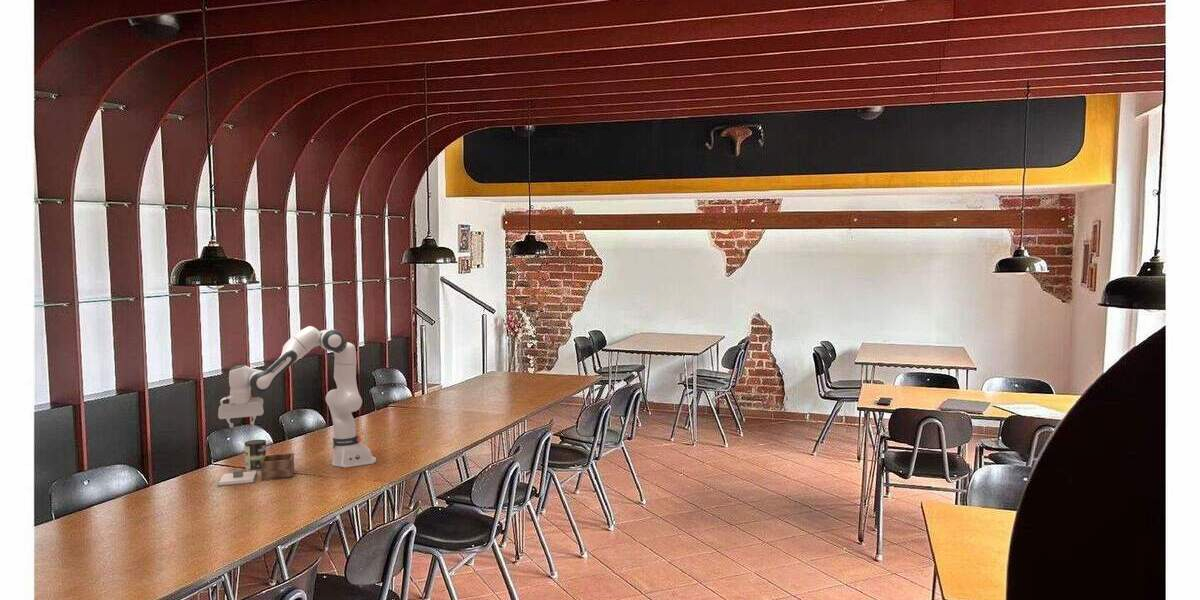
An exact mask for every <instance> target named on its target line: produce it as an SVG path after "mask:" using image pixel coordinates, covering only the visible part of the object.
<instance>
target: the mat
mask: <svg viewBox="0 0 1200 600" xmlns="http://www.w3.org/2000/svg"><path fill="white" fill-rule="evenodd" d="M258 474H259V473H257V475H256V477H255V479H254V481H253V482H248V483H238V484H227V485H219V483H218V484H217V487H225V486H226V487H227V486H236V485H246V484H247V485H248V484H254V483H255V481H256V479H257V478H258Z"/></svg>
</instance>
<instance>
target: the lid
mask: <svg viewBox="0 0 1200 600" xmlns="http://www.w3.org/2000/svg"><path fill="white" fill-rule="evenodd" d="M257 474H258V471H244V469H243V468H239V469H233V471H232V473H223V475H222V477H221V478H220V480H219V481H218V484H219V485H227V484H238V483H248V482H253V481H254V479H255V477H256V475H257ZM257 476H258V475H257ZM256 478H257V477H256Z"/></svg>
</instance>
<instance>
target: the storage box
mask: <svg viewBox="0 0 1200 600" xmlns="http://www.w3.org/2000/svg"><path fill="white" fill-rule="evenodd" d="M294 455H295V453H294V452H293V453H291V452H290V453H279V454H266V455H265V456H263V459H262V461H261V470H260V474H261V475H260V476H261V477H260V478H261V481H271V480H283V479H293V476H294V472H295V456H294Z"/></svg>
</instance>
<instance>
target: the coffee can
mask: <svg viewBox="0 0 1200 600" xmlns="http://www.w3.org/2000/svg"><path fill="white" fill-rule="evenodd" d="M243 444H244V460H245V472H251V471H257V472H258V471H261V461H262V459H263V456H265V455H267V440H266V439H253V440H252V439H251V440H247V441H245V442H244V443H243Z"/></svg>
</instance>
